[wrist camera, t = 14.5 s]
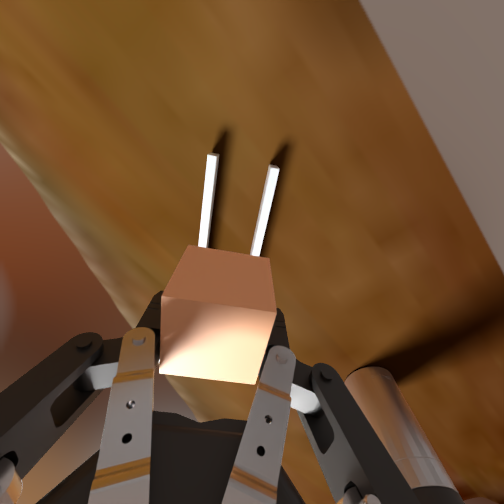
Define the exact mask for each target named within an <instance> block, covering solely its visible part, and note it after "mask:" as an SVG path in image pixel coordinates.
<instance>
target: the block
mask: <svg viewBox="0 0 504 504" xmlns="http://www.w3.org/2000/svg"><path fill="white" fill-rule="evenodd" d="M276 314H277V310H276V302H275V295H274V288H273V281H272V274H271V267H270V260H269V258H265V257H259V256H253V255H247V254H241V253H235V252H229V251H223V250H217V249H211V248H205V247H199V246H193V245H188V247H187V248H186V250H185V252H184V254H183V256H182V258H181V260H180V262H179V264H178V265H177V267H176V269H175V271H174V273H173V275H172V277H171V279H170V281H169V282H168V284H167V286H166V288H165V290H164V292H163V294H162V296H161V331H160V368H159V373H162V374H170V375H179V376H187V377H196V378H204V379H212V380H221V381H229V382H238V383H246V384H255V383H256V380H257V376H258V373H259V370H260V367H261V363H262V360H263V357H264V353H265V350H266V347H267V344H268V340H269V337H270V334H271V331H272V327H273V324H274V321H275V317H276Z"/></svg>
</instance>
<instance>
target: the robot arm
mask: <svg viewBox="0 0 504 504" xmlns="http://www.w3.org/2000/svg"><path fill="white" fill-rule="evenodd" d="M163 292H164V291H160V292H158V293H157V294H156V295H154V297H153V298H152V300H151V302H150V304H149V305H148V307H147V309H146V311H145V312H144V314H143V316H142V318H141V319H140V321H139V323H138V325H137V326H136V328H134V329H132V330H130V331H128V332H127V333H126V334H125V335H124V337H122V338H117V339H110V340H103V339H102V337H101V336H100V335H99V334H97V333H93V332H88V333H83V334H79V335H77V336H75V337H73V338H72V339H70V340H69V341H68V342H66V343H65V344H64V345H63V346H61V347H60V348H59V349H58V350H56V351H55V352H53V353H52V354H51V355H49V356H48V357H47V358H46V359H44V360H43V361H42V362H40V363H39V364H38V365H37V366H35V367H34V368H32V369H31V370H30V371H28V372H27V373H26V374H25V375H23V376H22V377H21V378H19V379H18V380H17V381H15V382H14V383H13V384H11V385H10V386H9V387H8V388H6V389H5V390H4V391H2V392H1V393H0V504H16V502H17V501H18V499H19V497H20V495H21V491H22V479H23V478H24V476H25V475H26V474H27V473H28V472H29V471H30V470H31V469H32V468H33V466H34V465H35V464H36V463H37V462H38V461H39V460H40V459H41V458H42V457H43V455H44V454H45V453H46V452H47V451H48V450H49V449H50V448H51V447H52V446H53V444H54V443H55V442H56V441H57V440H58V439H59V438H60V437H61V436H62V435H63V433H64V432H65V431H66V430H67V429H68V428H69V427H70V426H71V425H72V424H73V422H74V421H75V420H76V419H77V418H78V417H79V416H80V415H81V414H82V413H83V411H84V410H85V409H86V408H87V407H88V406H89V405H90V404H91V402H93V400H94V399H95V398H96V397H97V396H98V395H99V394H100V392H101V391H102V390H103V389H104V388H107V387H111V392H110V398H109V404H108V409H107V415H106V420H105V426H104V430H103V436H102V441H101V447H100V449H99V450H98V451H97V452H96V453H95V454H93V455H92V456H91V457H90V458H89V459H88V460H86V461H85V462H84V463H83V464H82V465H80V467H78V468H77V469H76V470H75V471H73V472H72V473H71V474H70V475H69V476H68V477H66V478H65V479H64V480H63V481H62V482H61V483H59V484H58V485H57V486H56V487H55V488H54V489H52V490H51V491H50V492H49V493H48V494H46V495H45V496H44V497H43V498H42V499H40V500H39V501H38V502H37V503H36V504H305V502H304V501H303V499H302V497H301V496H300V494H299V493H298V491H297V489H296V488H295V486H294V485H293V483H292V482H291V480H290V478H289V477H288V475H287V474H286V472H285V470H284V469H283V467H282V466H281V461H282V455H283V449H284V443H285V437H286V430H287V424H288V418H289V412H290V407H292V408H294V409H297V412H298V415H299V417H300V419H301V422H302V424H303V427H304V429H305V431H306V434H307V436H308V438H309V441H310V443H311V446H312V448H313V450H314V453H315V455H316V457H317V460H318V462H319V465H320V467H321V469H322V472H323V474H324V476H325V479H326V481H327V484H328V486H329V488H330V491H331V493H332V495H333V498H334V500H335V503H336V504H465V503H464V502H463V500H462V498H461V496H460V495H459V493H458V491H457V490H456V488H455V486H454V484H453V482H452V481H451V479H450V477H449V475H448V474H447V472H446V470H445V468H444V467H443V465H442V463H441V461H440V460H439V458H438V456H437V454H436V453H435V451H434V449H433V447H432V446H431V444H430V442H429V440H428V438H427V437H426V435H425V433H424V431H423V430H422V428H421V426H420V424H419V423H418V421H417V419H416V417H415V415H414V414H413V412H412V410H411V408H410V407H409V405H408V403H407V401H406V400H405V398H404V396H403V394H402V392H401V391H400V389H399V387H398V385H397V384H396V382H395V380H394V378H393V377H392V375H391V373H390V372H389V371H388V370H386V369H384V368H381V367H365V368H362V369H359V370H357V371H355V372H353V373H352V374H350V375H349V376H348V377H347V379H346V380H345V384H344V382H343V380H342V379H341V377H340V376H339V374H338V373H337V371H336V370H335V369H334V368H332V367H331V366H329V365H327V364H324V363H317V364H315V365H314V366H313V367H310V366H308V365H306V364H303V363H301V362H300V361H298V360H297V359H296V358H295V355H294V354H293V352H292V351H291V350H290V348H289V342H288V337H287V331H286V325H285V319H284V315H283V313H282V312H281V310H280V309H279V308H276V310H277V314H276V317H275V321H274V324H273V327H272V331H271V334H270V337H269V340H268V344H267V347H266V350H265V353H264V357H263V360H262V363H261V367H260V370H259V373H258V375H259V384H258V388H257V391H256V394H255V397H254V400H253V404H252V407H251V410H250V413H249V416H248V420H247V421H244V420H234V419H219V420H213V421H208V422H202V423H199V422H196V421H194V420H191V419H189V418H186V417H184V416H181V415H179V414H176V413H168V412H158V411H153V402H154V372H155V370H156V367H157V364H158V363H160V331H161V296H162V294H163Z"/></svg>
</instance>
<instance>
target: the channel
mask: <svg viewBox="0 0 504 504" xmlns="http://www.w3.org/2000/svg"><path fill="white" fill-rule="evenodd" d="M218 162H219V154H216V153H209V154H208V156H207V166H206V176H205V186H204V195H203V205H202V215H201V225H200V235H199V245H198V246H199V247H205V248H208V244H209V236H210V228H211V219H212V211H213V203H214V195H215V187H216V178H217V170H218ZM279 170H280V169H279V168H278V166H275V165H270V164H269V168H268V173H267V177H266V182H265V187H264V191H263V196H262V201H261V205H260V210H259V215H258V220H257V224H256V229H255V234H254V238H253V243H252V248H251V252H250V255H253V256H259V255H260V251H261V247H262V242H263V238H264V234H265V230H266V225H267V221H268V217H269V212H270V208H271V204H272V200H273V195H274V191H275V187H276V182H277V178H278V174H279Z"/></svg>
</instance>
